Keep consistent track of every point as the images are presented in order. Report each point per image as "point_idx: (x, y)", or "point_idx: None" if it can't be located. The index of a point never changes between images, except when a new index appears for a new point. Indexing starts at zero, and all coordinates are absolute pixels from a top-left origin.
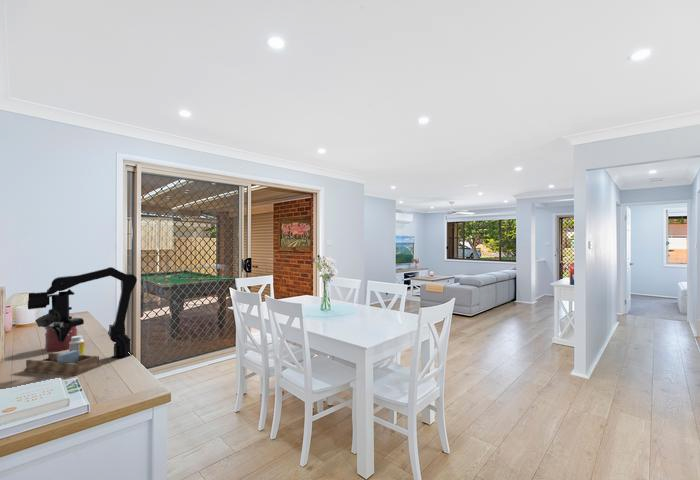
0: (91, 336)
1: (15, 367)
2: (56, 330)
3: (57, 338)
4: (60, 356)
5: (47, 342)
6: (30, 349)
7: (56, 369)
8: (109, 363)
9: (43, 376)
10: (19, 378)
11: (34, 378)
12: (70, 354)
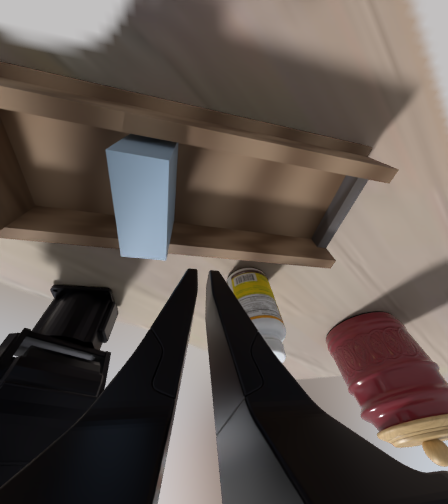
0: (330, 374)
1: (428, 192)
2: (244, 407)
3: (230, 293)
4: (129, 152)
5: (405, 336)
6: (440, 317)
7: (153, 111)
8: (37, 243)
9: (194, 55)
10: (327, 15)
11: (222, 10)
12: (116, 205)
